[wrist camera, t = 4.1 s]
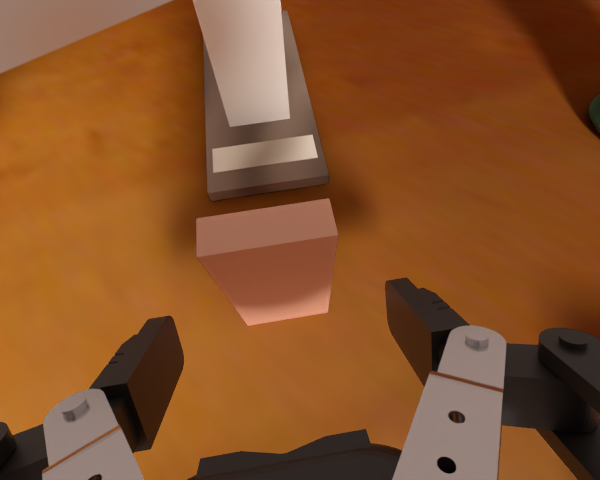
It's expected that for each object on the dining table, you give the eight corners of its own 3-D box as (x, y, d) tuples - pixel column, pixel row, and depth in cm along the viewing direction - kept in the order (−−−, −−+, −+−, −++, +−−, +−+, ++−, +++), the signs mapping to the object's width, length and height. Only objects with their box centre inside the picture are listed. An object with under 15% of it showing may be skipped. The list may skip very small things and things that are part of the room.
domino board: (211, 201, 25) (207, 192, 24) (205, 31, 35) (202, 20, 34) (328, 183, 25) (329, 174, 24) (287, 20, 35) (287, 9, 34)
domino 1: (290, 118, 27) (278, -25, 18) (229, 127, 27) (188, -14, 18) (287, 105, 28) (274, -39, 19) (228, 113, 28) (188, -28, 19)
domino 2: (327, 312, 20) (338, 234, 11) (248, 325, 20) (196, 257, 11) (322, 288, 21) (329, 198, 12) (246, 300, 21) (196, 218, 12)
